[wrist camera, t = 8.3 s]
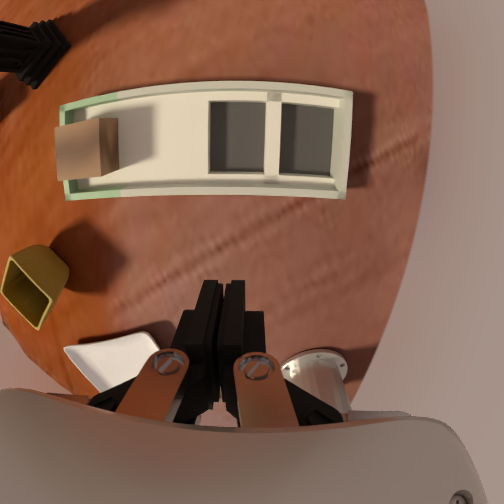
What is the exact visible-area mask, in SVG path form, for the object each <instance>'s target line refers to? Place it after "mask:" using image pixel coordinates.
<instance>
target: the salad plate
mask: <svg viewBox="0 0 504 504" xmlns="http://www.w3.org/2000/svg"><path fill="white" fill-rule="evenodd" d="M159 350H161V349H160V348H159V346H158V345H157V343H156V342H155V340H154V338H153V337H152V336H151V335H150V334H149V333H147V332H145V331H141V332H137V333H133V334H130V335H126V336H122V337H118V338H114V339H109V340H105V341H99V342H93V343H86V344H75V345H69V346H66V347H64V351H65V353H66V354H67V355H68V357H69V358H70V359H71V360H72V362H73V363H74V364H75V365H76V366H77V367H78V369H79V370H80V371H81V372H82V373H83V374H84V376H85V377H86V378H87V379H88V380H89V381H90V382H91V383H92V384H93V385H94V386H95V387H96V388H97V389H98V390H99V391H100V392H104V391H106V390H108V389H110V388H112V387H115V386H117V385H119V384H121V383H123V382H125V381H128V380H130V379H132V378H134V377H136V376H137V375H138V374H139V372H140V370H141V369H142V367H143V366H144V364H145V362H146V361H147V359H148V358H149V357H150V356H151V355H152V354H153V353H155V352H156V351H159Z"/></svg>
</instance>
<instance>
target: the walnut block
mask: <svg viewBox="0 0 504 504" xmlns="http://www.w3.org/2000/svg"><path fill="white" fill-rule="evenodd" d="M55 151H56V166H57V178H58V181H64V180H73V179H82V178H92V177H102V176H104V175H107V174H109V173H112V172H114V171H117V170H119V145H118V118H96V119H91V120H86V121H81V122H76V123H72V124H67V125H63V126H59V127H55Z"/></svg>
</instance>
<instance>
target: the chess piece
mask: <svg viewBox="0 0 504 504" xmlns="http://www.w3.org/2000/svg"><path fill="white" fill-rule="evenodd" d="M70 47H71V44H70V43H69V42H68V41H67V39H66V38H65V37H64V35H63V34H62V33H61V32H60V30H59V29H58V28H57V26H56V25H55V24H54V22H53V21H52V20H50V19H49V20H48V21H47V22H45V21H41V22H40V23H39V24H38V23H37V22H33V23H32V25H31V26H30V27H25V26H21V25H17V24H13V23H9V22H4V21H0V72H15V74H16V75H17V77H18V79H19V81H24V82H25V84H26V85H30V86H31V87H32V89H37V87H38V86H39V85H40V83H41V82H42V81H43V79H44V78H45V77H46V75H47V74H48V73H49V71H50V70H51V69H52V68H53V66H54V65H55V64H56V63H57V62H58V60H59V59H60V58H61V57H62V56H63V55H64V53H65V52H66V51H67V50H68V49H69V48H70Z"/></svg>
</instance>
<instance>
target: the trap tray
mask: <svg viewBox="0 0 504 504" xmlns="http://www.w3.org/2000/svg"><path fill="white" fill-rule="evenodd" d="M352 106H353V91H347V90H341V89H335V88H328V87H321V86H313V85H304V84H294V83H282V82H264V81H207V82H190V83H177V84H167V85H158V86H151V87H144V88H137V89H131V90H125V91H120V92H114V93H109V94H105V95H100V96H96V97H91V98H87V99H83V100H80V101H76V102H72V103H69V104H65V105H62V106H60V126H63V125H67V124H72V123H76V122H81V121H86V120H91V119H96V118H118V145H119V170H117V171H114V172H112V173H109V174H107V175H104V176H102V177H92V178H82V179H73V180H64V181H63V182H64V190H65V198H66V201H69V200H81V199H95V198H110V197H129V196H153V195H273V196H298V197H317V198H333V199H345V196H346V187H347V178H348V167H349V156H350V143H351V127H352Z"/></svg>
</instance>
